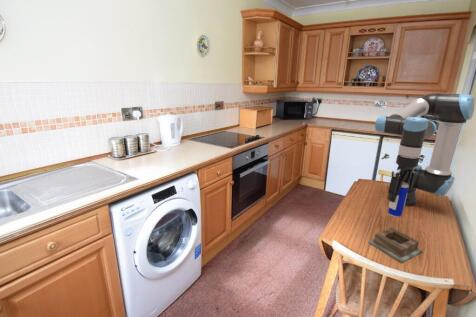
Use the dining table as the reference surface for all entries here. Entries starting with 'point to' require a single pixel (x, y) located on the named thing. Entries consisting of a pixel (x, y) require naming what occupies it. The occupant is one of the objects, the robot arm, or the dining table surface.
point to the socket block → (396, 244)
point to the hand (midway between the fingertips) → (396, 206)
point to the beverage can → (400, 201)
